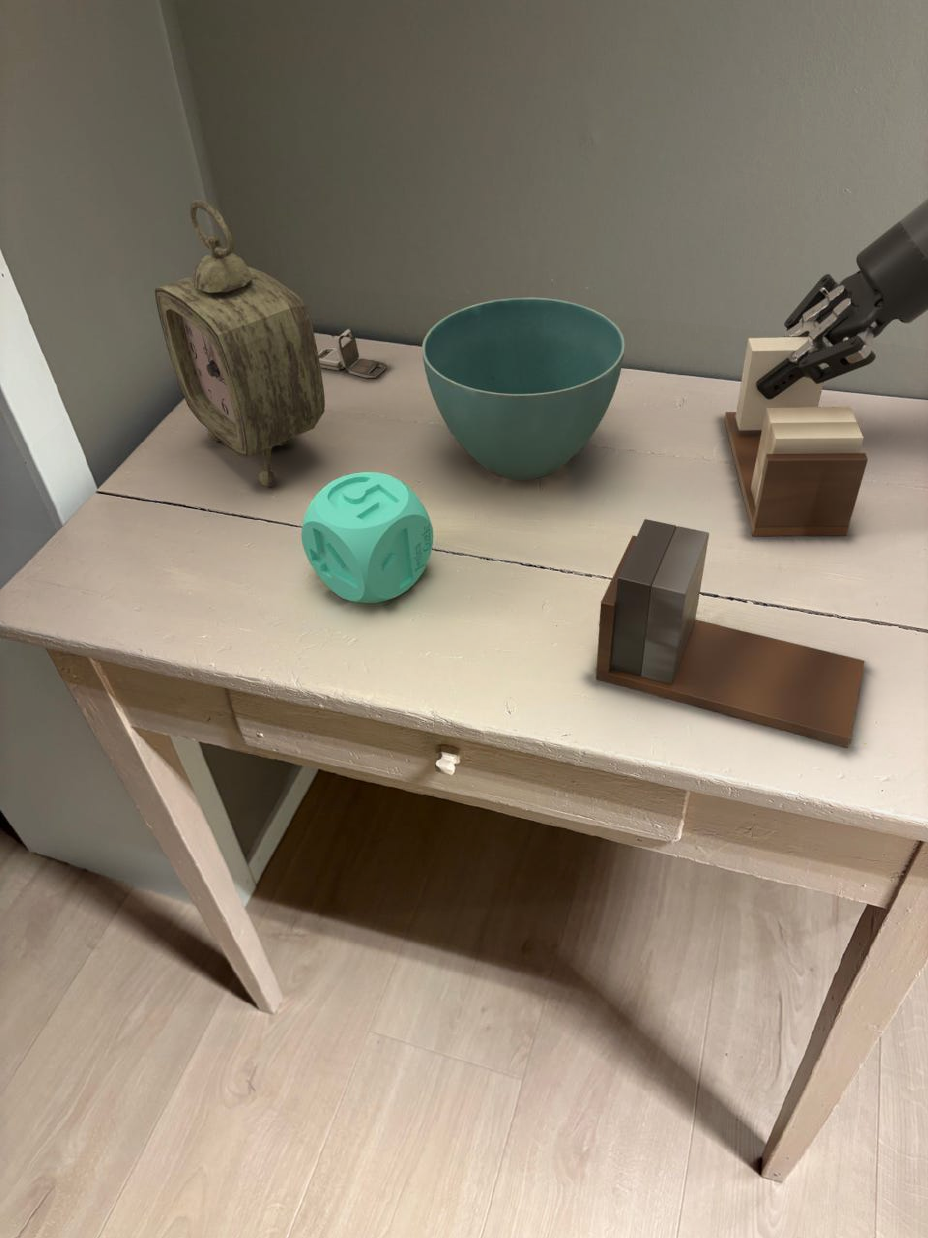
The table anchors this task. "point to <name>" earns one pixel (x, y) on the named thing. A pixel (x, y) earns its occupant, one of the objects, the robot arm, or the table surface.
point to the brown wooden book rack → (799, 470)
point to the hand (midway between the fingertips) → (759, 383)
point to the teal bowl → (523, 380)
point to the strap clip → (348, 358)
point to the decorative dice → (367, 537)
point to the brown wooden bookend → (713, 646)
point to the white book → (757, 364)
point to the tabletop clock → (241, 351)
